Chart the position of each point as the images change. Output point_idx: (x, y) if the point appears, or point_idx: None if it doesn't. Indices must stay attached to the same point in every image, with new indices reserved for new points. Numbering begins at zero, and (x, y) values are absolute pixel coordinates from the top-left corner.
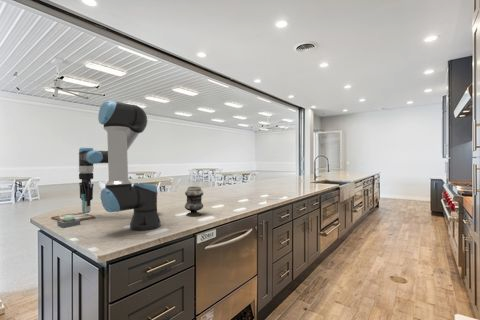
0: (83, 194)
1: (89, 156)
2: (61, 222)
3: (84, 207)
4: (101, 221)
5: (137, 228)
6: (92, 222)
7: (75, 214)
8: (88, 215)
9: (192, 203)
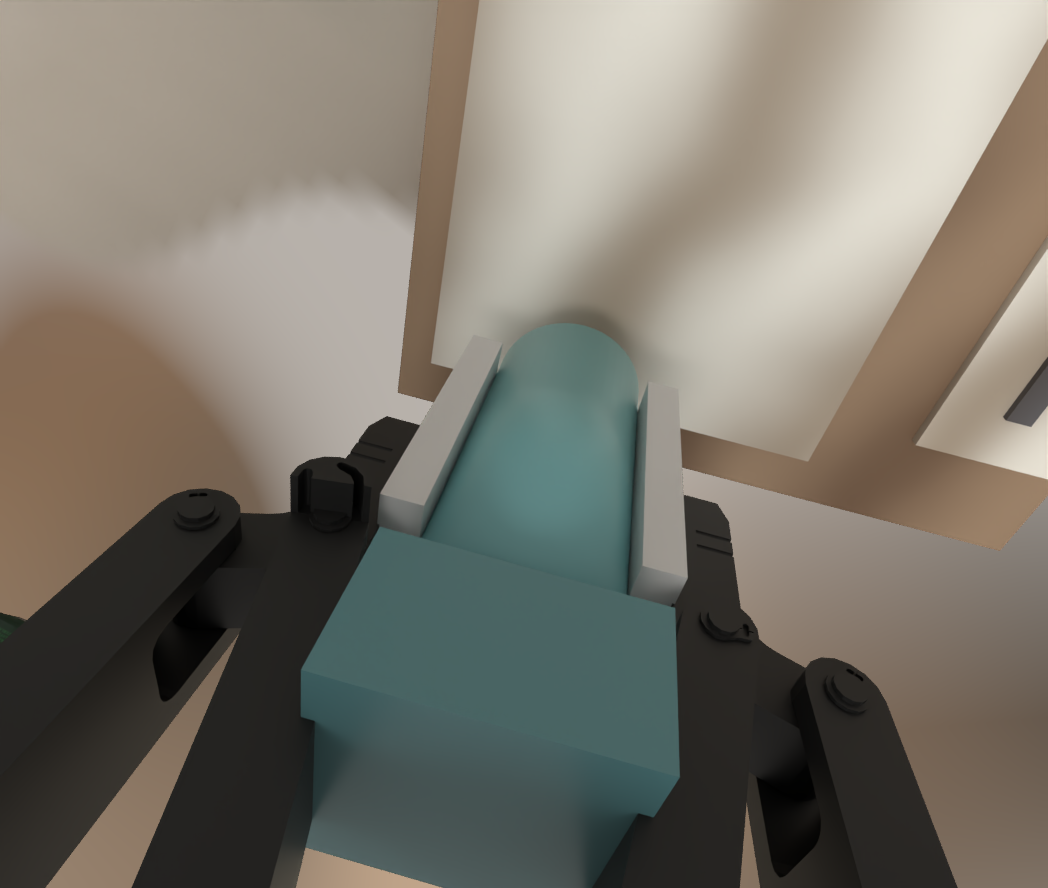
0: (379, 696)
1: None
2: None
3: (511, 393)
4: (76, 238)
5: None
6: (111, 118)
7: (945, 388)
8: None
9: None
